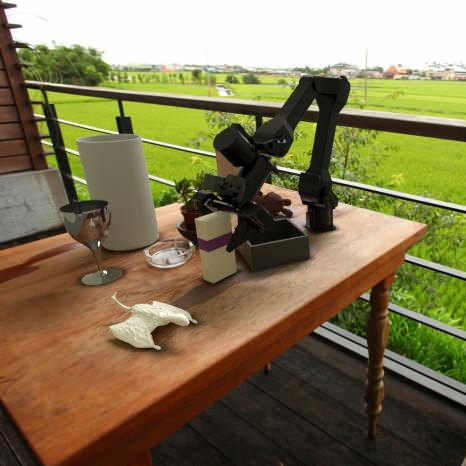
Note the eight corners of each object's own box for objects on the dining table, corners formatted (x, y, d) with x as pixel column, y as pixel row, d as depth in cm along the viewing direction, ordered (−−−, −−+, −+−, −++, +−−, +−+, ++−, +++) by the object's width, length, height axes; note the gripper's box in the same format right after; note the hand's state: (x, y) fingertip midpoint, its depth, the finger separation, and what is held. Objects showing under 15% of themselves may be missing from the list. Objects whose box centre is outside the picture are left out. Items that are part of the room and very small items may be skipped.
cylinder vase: (101, 256, 87) (72, 143, 78) (103, 237, 97) (78, 135, 88) (162, 246, 93) (142, 140, 83) (158, 229, 103) (140, 132, 94)
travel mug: (240, 201, 126) (234, 139, 119) (251, 207, 121) (245, 142, 113) (217, 205, 122) (209, 141, 114) (227, 212, 116) (220, 144, 109)
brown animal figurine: (240, 193, 112) (283, 205, 107) (255, 182, 117) (297, 192, 112) (244, 213, 116) (286, 225, 111) (259, 201, 122) (300, 212, 116)
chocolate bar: (203, 279, 78) (194, 218, 73) (227, 268, 83) (220, 210, 78) (213, 283, 76) (204, 222, 72) (237, 271, 81) (230, 213, 76)
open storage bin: (288, 238, 98) (287, 217, 96) (309, 257, 88) (309, 235, 86) (236, 248, 92) (234, 226, 90) (252, 270, 82) (250, 247, 80)
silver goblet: (127, 265, 83) (112, 198, 78) (121, 282, 77) (104, 210, 71) (84, 270, 81) (65, 202, 75) (74, 289, 74) (53, 214, 68)
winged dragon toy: (83, 328, 62) (76, 306, 61) (138, 298, 71) (133, 278, 70) (164, 360, 56) (159, 336, 54) (214, 322, 64) (211, 301, 63)
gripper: (194, 151, 79) (152, 217, 74) (259, 163, 69) (215, 239, 65) (228, 181, 88) (193, 242, 83) (290, 195, 78) (254, 264, 74)
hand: (211, 246), depth 76 cm, fingers open, 9 cm apart
